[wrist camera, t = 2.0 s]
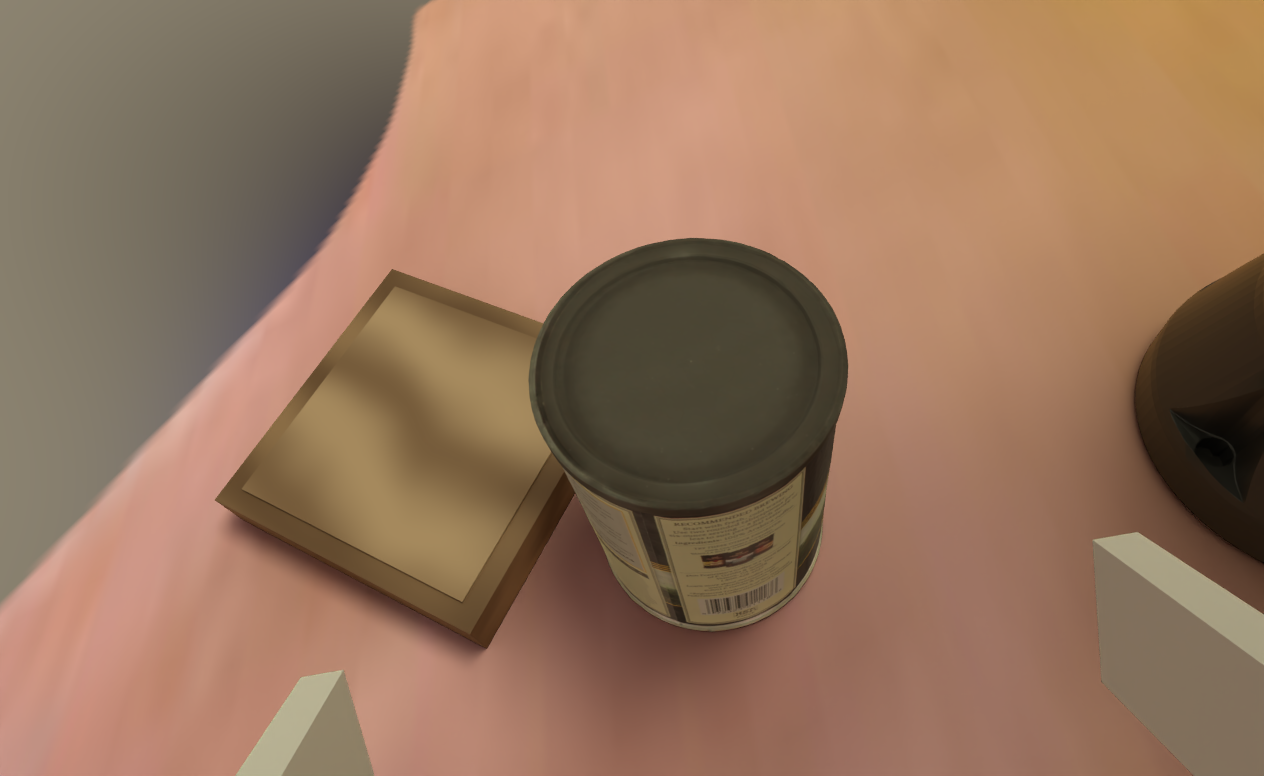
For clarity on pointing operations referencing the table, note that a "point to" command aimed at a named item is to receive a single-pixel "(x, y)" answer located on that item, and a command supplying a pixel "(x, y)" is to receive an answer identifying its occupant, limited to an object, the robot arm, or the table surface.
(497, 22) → the table surface
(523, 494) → the walnut board
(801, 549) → the coffee can
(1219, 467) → the robot arm
